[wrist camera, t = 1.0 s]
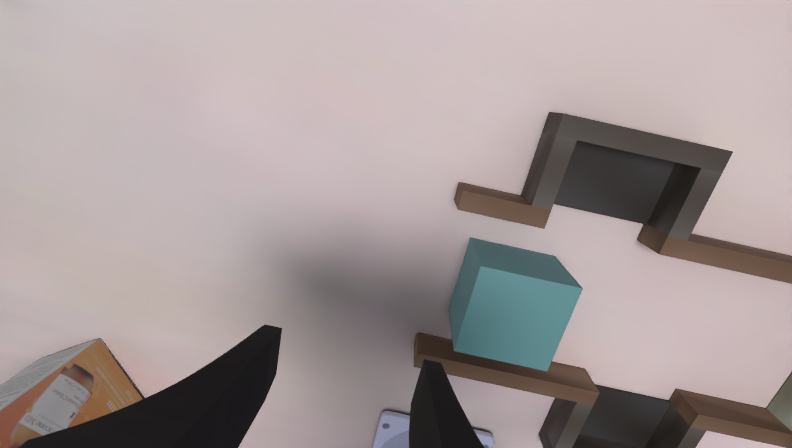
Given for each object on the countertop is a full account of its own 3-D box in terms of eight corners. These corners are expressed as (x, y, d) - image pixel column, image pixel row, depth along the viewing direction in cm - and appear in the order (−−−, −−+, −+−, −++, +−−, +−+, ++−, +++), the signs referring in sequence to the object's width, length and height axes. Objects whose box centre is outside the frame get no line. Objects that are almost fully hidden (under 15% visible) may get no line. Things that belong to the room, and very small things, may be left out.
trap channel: (733, 476, 26) (780, 532, 22) (397, 404, 25) (394, 450, 22) (936, 199, 19) (1046, 220, 16) (482, 96, 19) (495, 96, 15)
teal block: (526, 326, 23) (547, 371, 19) (448, 309, 23) (453, 351, 19) (553, 254, 21) (582, 288, 18) (470, 236, 21) (480, 266, 18)
